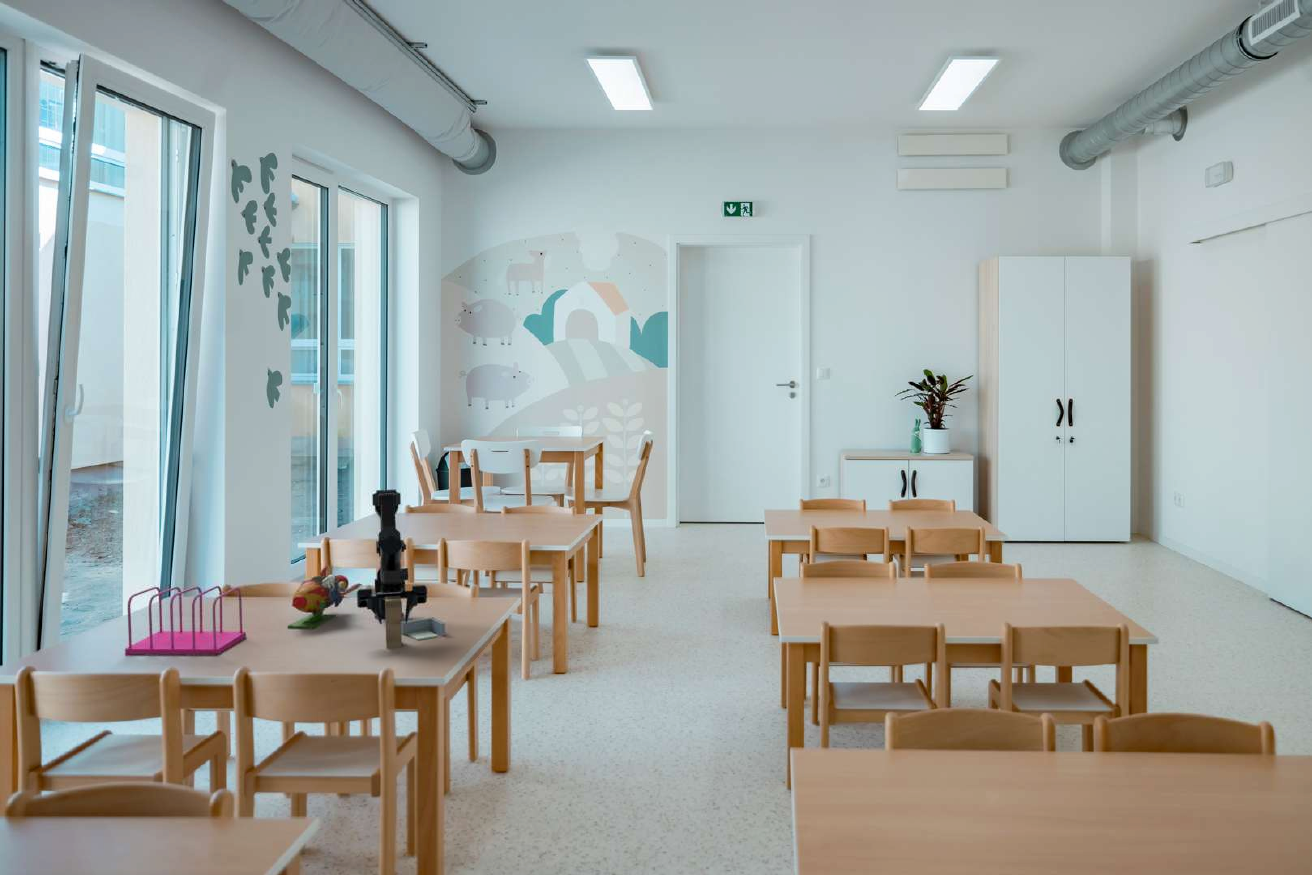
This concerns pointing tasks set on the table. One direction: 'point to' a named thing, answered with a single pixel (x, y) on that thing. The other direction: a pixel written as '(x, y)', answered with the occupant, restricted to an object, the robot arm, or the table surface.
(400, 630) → the walnut block
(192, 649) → the file sorter
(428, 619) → the grey corner fixture
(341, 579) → the kendama
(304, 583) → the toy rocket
